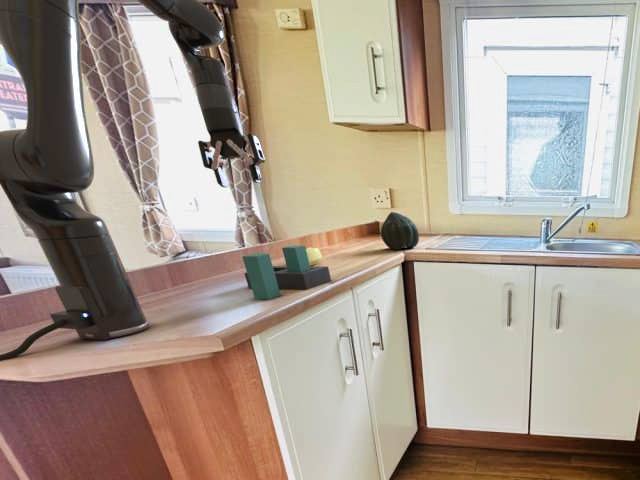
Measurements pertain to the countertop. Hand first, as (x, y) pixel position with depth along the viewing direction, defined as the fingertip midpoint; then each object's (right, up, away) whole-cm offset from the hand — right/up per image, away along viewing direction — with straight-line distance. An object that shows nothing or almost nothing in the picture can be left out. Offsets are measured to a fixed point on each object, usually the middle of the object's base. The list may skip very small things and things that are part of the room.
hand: (240, 184), depth 105 cm
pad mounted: (+11, -23, +10) cm, 27 cm away
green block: (+8, -29, -3) cm, 30 cm away
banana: (-5, -9, +40) cm, 41 cm away
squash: (+22, +7, +71) cm, 75 cm away
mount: (+7, -22, +11) cm, 26 cm away
